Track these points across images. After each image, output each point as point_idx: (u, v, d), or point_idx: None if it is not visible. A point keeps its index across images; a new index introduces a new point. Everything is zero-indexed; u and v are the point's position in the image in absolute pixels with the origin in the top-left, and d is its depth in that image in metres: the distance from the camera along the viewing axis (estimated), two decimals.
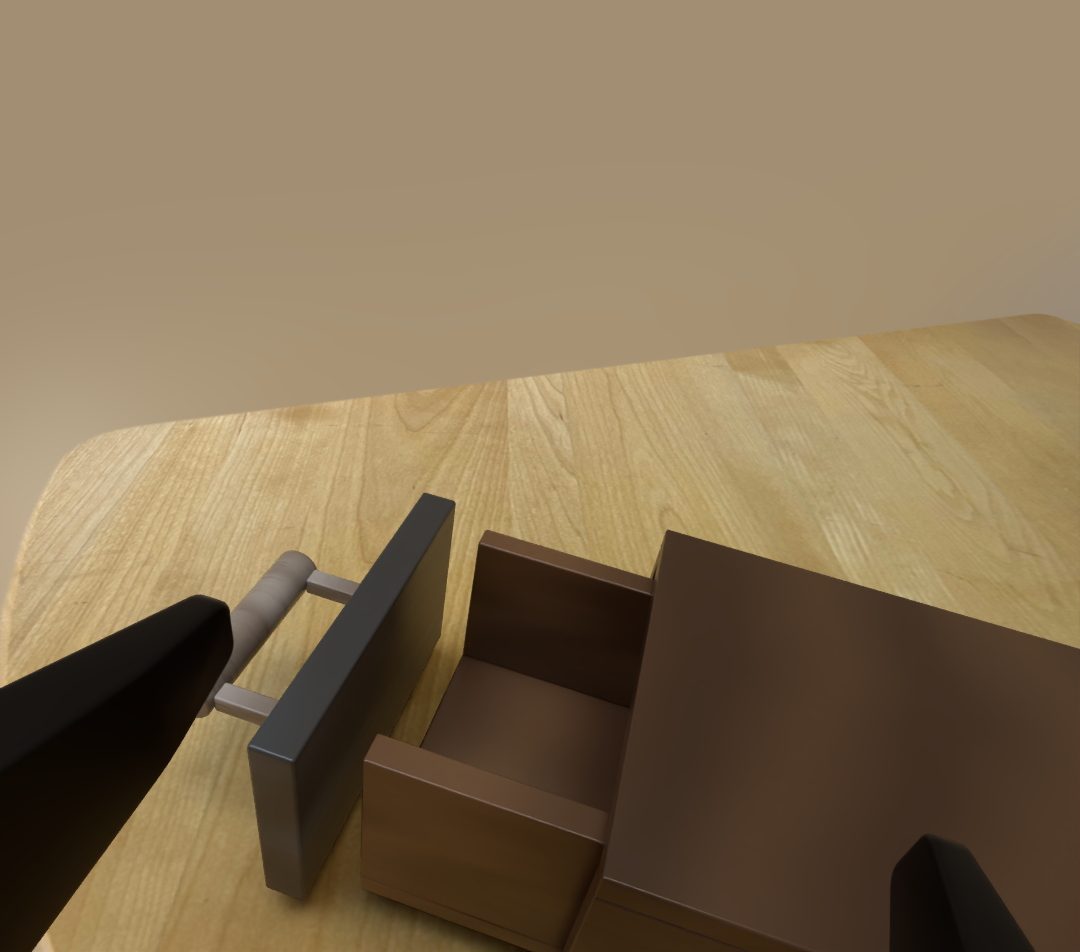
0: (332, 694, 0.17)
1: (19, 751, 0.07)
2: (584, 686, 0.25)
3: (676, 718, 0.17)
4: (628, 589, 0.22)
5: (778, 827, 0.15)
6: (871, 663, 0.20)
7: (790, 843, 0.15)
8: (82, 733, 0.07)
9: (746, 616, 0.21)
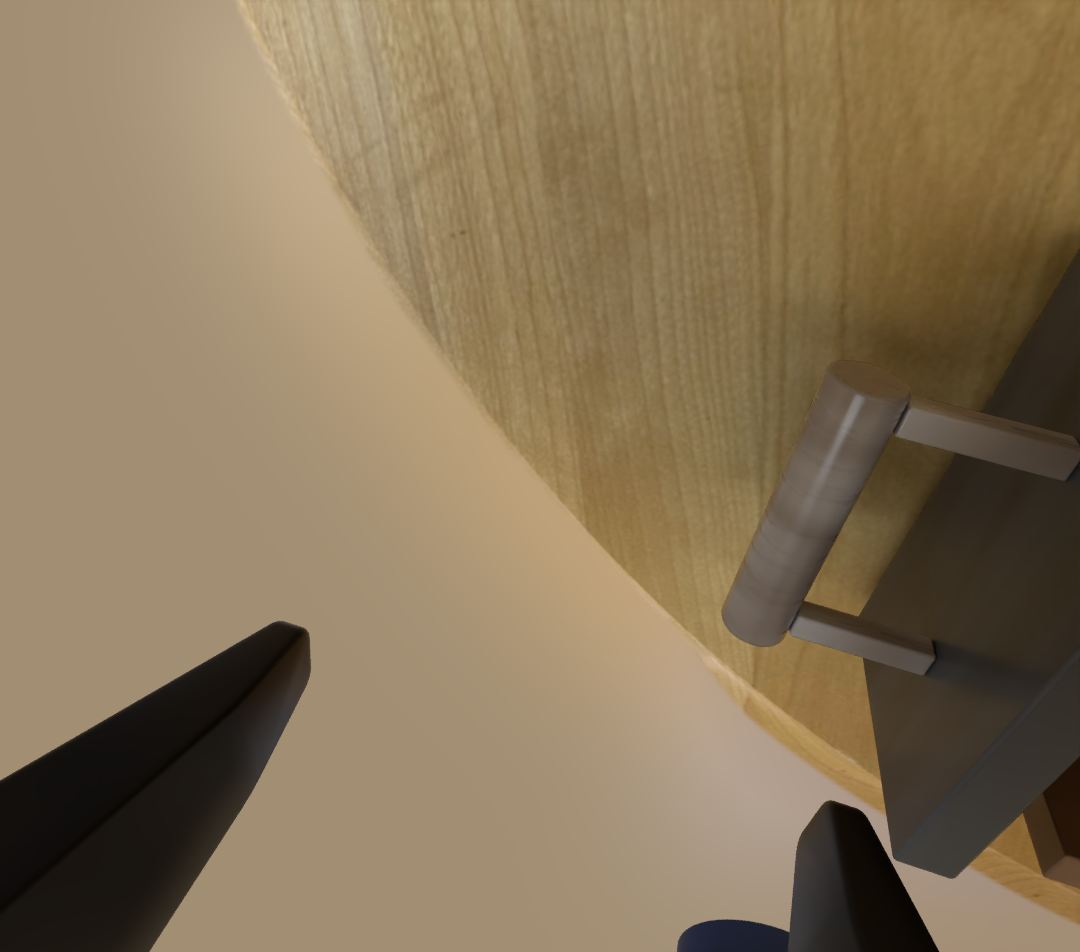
0: (1003, 828, 0.13)
1: (127, 790, 0.07)
2: None
3: None
4: None
5: None
6: None
7: None
8: (182, 769, 0.07)
9: None
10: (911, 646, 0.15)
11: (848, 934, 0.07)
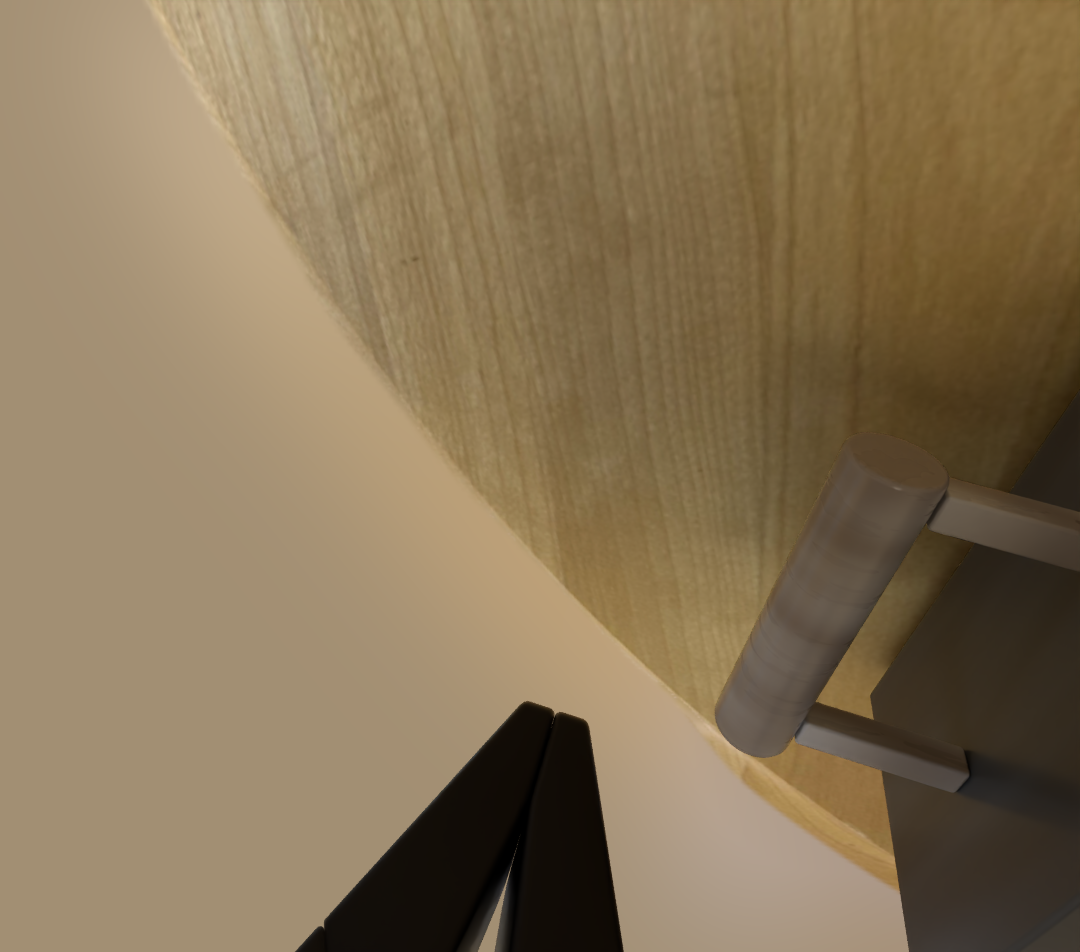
0: None
1: (464, 915, 0.06)
2: None
3: None
4: None
5: None
6: None
7: None
8: (492, 881, 0.07)
9: None
10: (940, 760, 0.12)
11: None
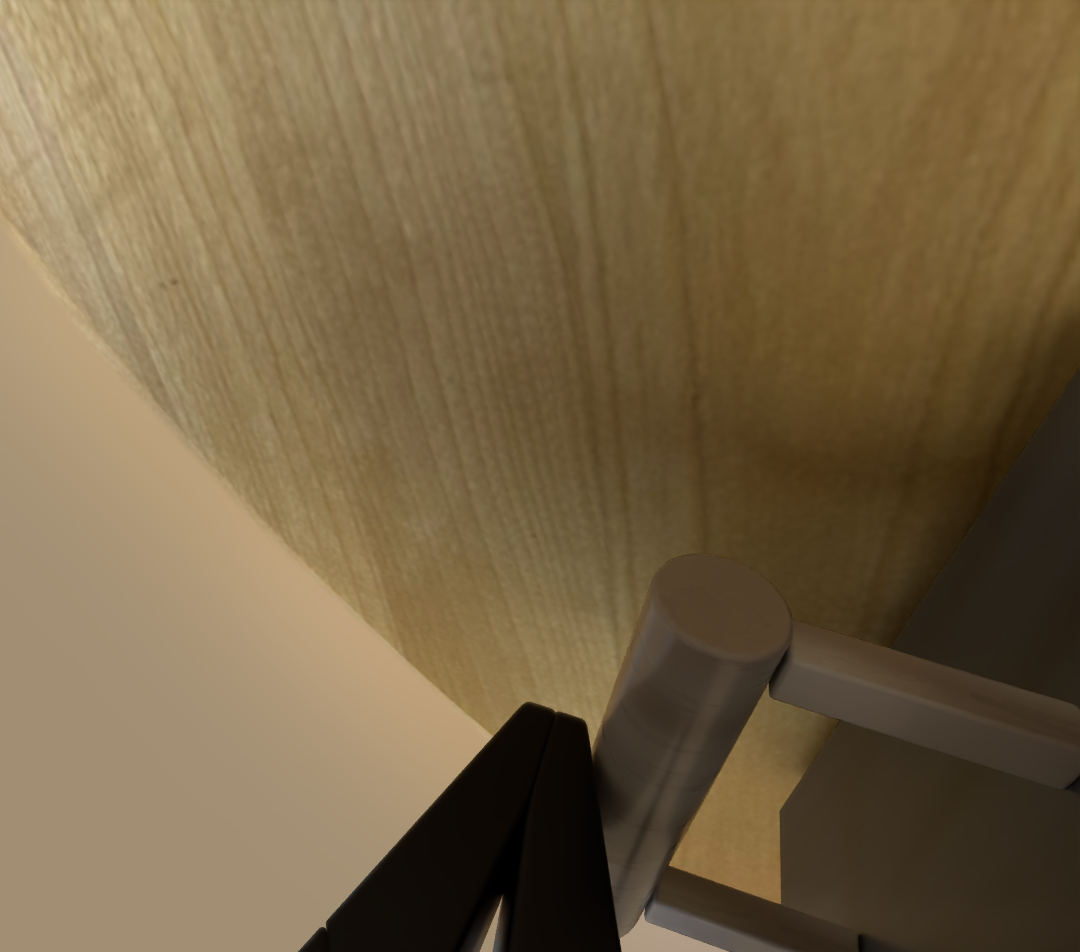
0: None
1: (466, 915, 0.06)
2: None
3: None
4: None
5: None
6: None
7: None
8: (494, 881, 0.07)
9: None
10: None
11: None
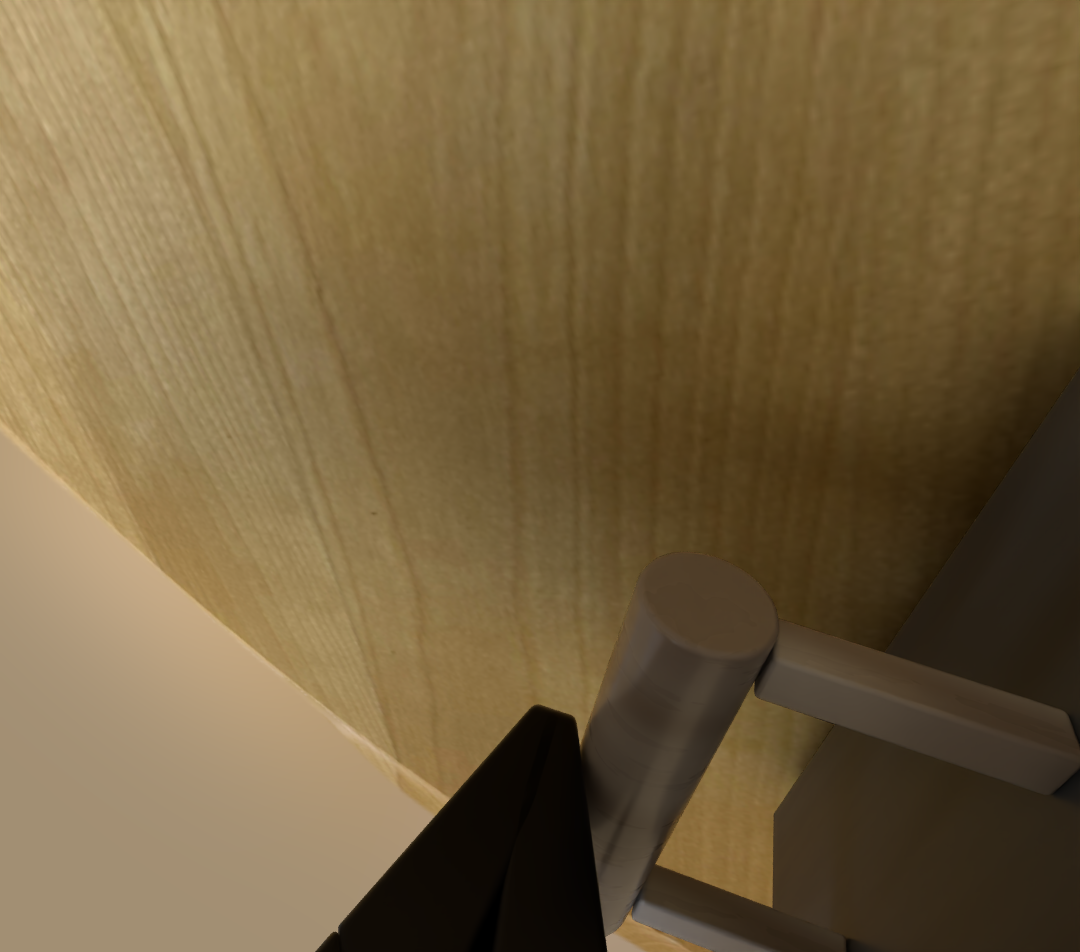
0: None
1: (478, 920, 0.06)
2: None
3: None
4: None
5: None
6: None
7: None
8: None
9: None
10: None
11: None
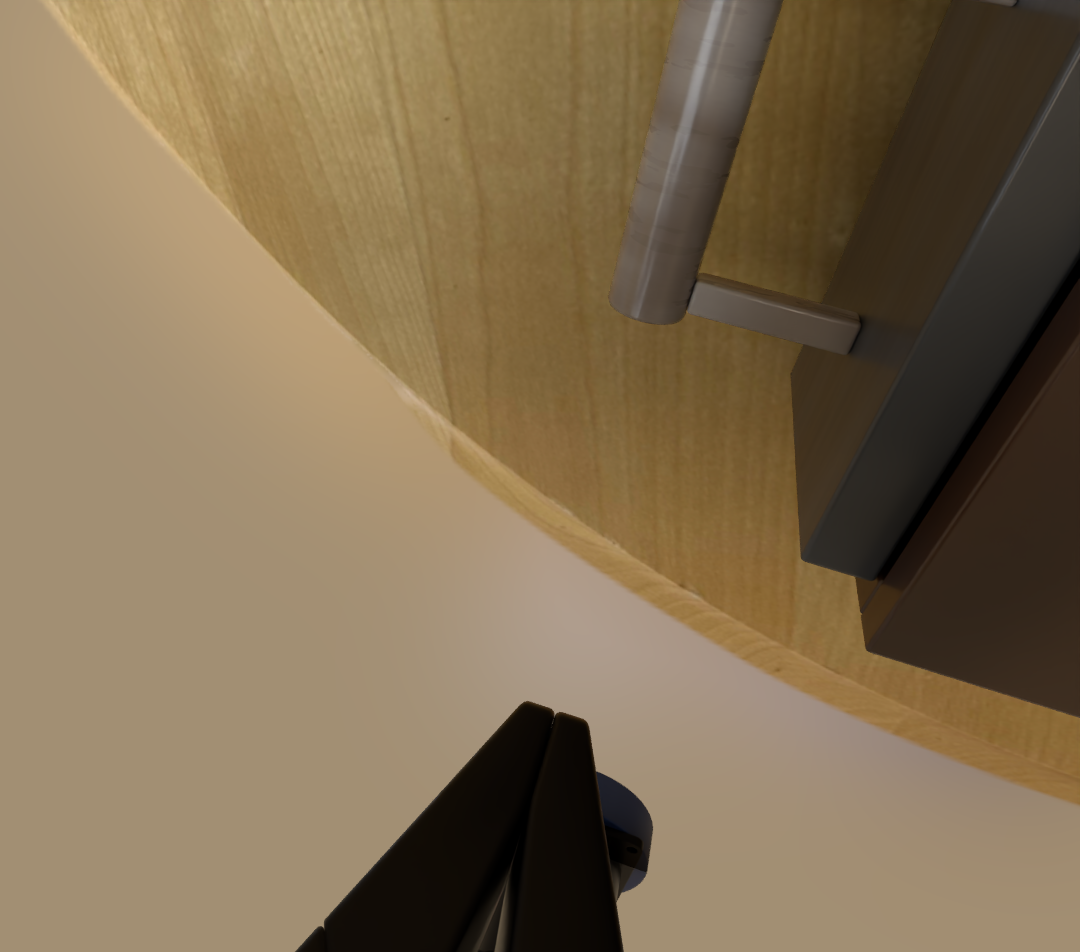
0: (929, 487, 0.10)
1: (464, 915, 0.06)
2: None
3: None
4: None
5: None
6: None
7: None
8: (492, 881, 0.07)
9: None
10: (832, 316, 0.12)
11: None
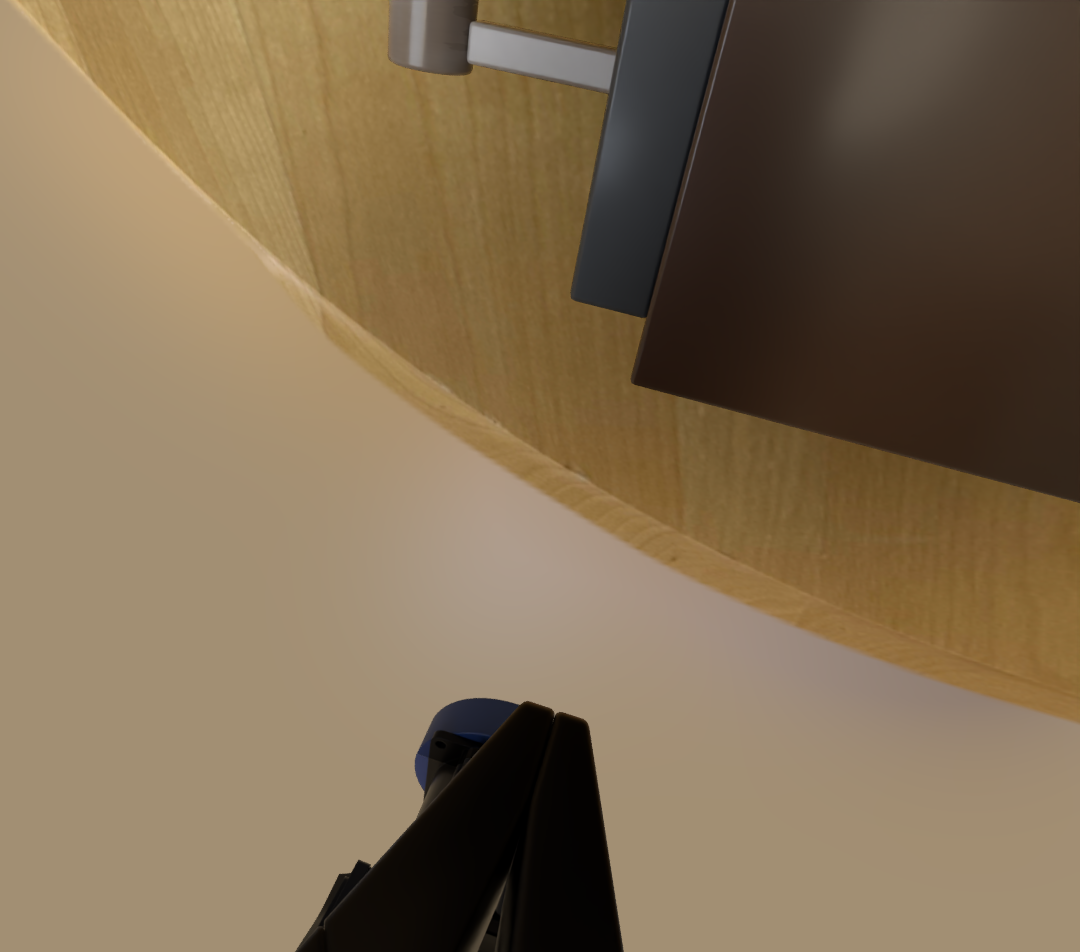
0: (677, 181, 0.09)
1: (464, 915, 0.06)
2: None
3: (828, 42, 0.07)
4: None
5: (976, 284, 0.08)
6: None
7: (988, 312, 0.08)
8: (492, 881, 0.07)
9: None
10: None
11: None
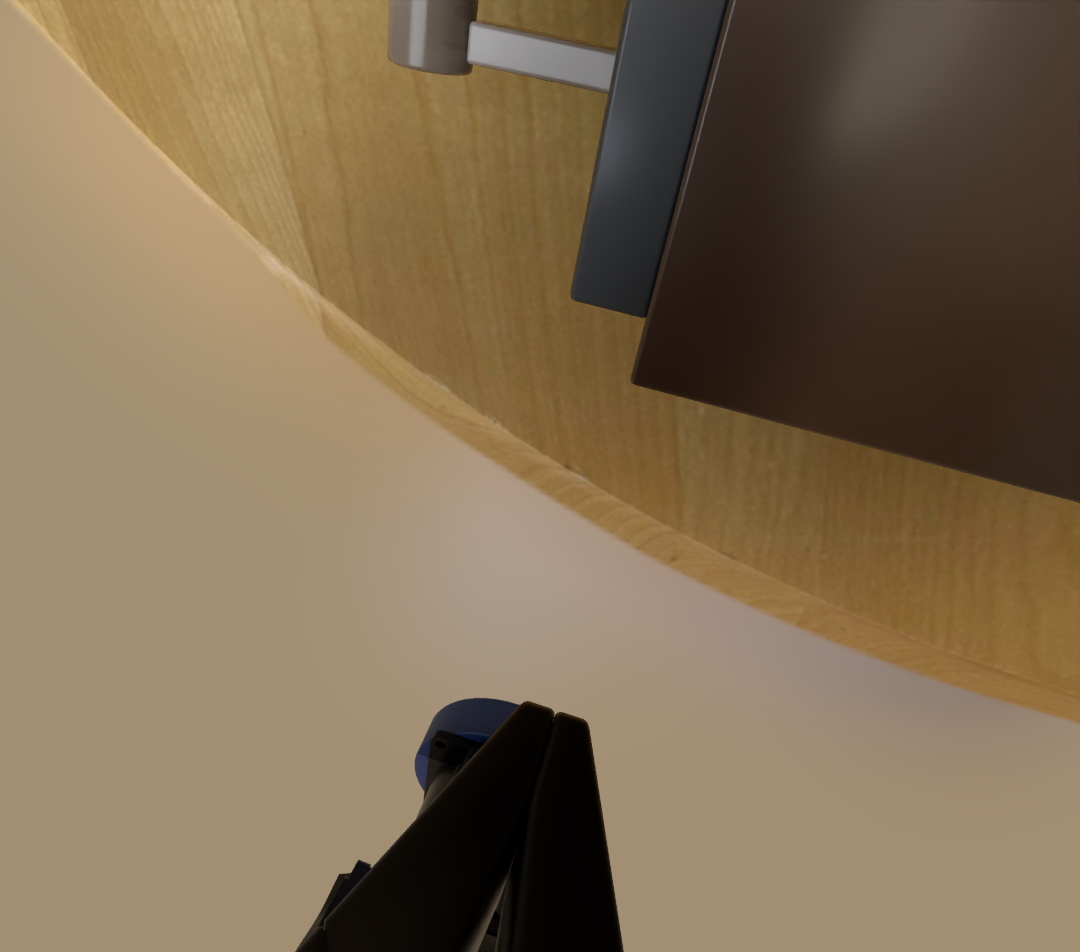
0: (676, 181, 0.09)
1: (464, 915, 0.06)
2: None
3: (827, 42, 0.07)
4: None
5: (976, 284, 0.08)
6: None
7: (987, 313, 0.08)
8: (492, 881, 0.07)
9: None
10: None
11: None
